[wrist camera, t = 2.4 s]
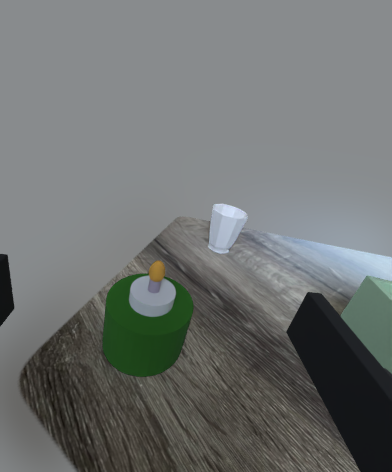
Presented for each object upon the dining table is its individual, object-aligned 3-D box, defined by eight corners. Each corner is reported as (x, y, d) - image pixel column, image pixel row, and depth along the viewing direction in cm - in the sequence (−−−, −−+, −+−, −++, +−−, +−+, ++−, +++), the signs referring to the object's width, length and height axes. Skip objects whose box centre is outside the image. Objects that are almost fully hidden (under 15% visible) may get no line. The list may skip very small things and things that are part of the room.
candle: (197, 345, 27) (222, 272, 22) (133, 395, 21) (150, 309, 16) (151, 300, 31) (164, 232, 27) (87, 331, 25) (91, 249, 21)
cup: (207, 256, 44) (219, 216, 41) (193, 231, 53) (202, 196, 49) (241, 258, 47) (255, 220, 43) (222, 233, 55) (233, 200, 51)
